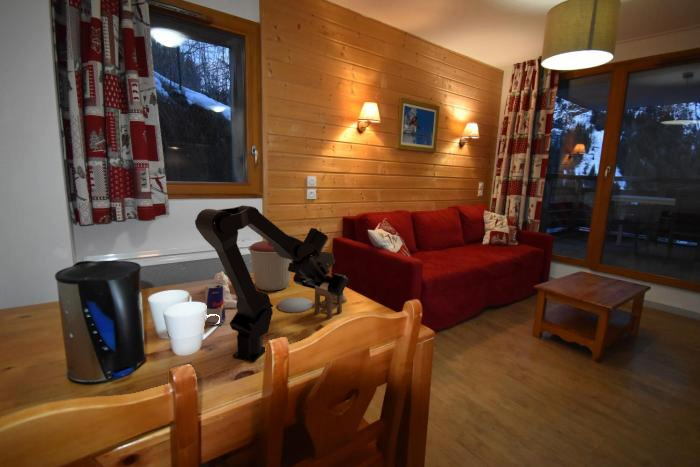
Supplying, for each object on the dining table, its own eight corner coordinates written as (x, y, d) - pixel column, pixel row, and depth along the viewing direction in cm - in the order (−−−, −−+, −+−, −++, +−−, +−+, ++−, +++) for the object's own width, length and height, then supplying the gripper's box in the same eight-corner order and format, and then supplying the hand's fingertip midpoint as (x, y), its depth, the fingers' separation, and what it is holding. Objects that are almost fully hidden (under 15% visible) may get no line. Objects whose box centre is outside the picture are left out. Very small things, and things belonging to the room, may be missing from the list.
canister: (245, 282, 139) (243, 232, 135) (287, 277, 147) (287, 230, 143) (255, 297, 123) (253, 241, 119) (301, 290, 132) (301, 238, 128)
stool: (329, 319, 107) (330, 290, 106) (314, 313, 111) (314, 286, 109) (341, 312, 113) (342, 285, 111) (327, 307, 116) (327, 281, 114)
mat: (304, 314, 110) (303, 313, 110) (271, 309, 113) (271, 308, 113) (318, 301, 121) (318, 300, 121) (288, 297, 125) (288, 295, 125)
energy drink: (219, 327, 100) (217, 288, 98) (203, 324, 101) (200, 287, 99) (229, 319, 106) (227, 282, 103) (213, 317, 107) (211, 281, 104)
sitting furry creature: (240, 308, 114) (238, 274, 112) (212, 312, 110) (211, 277, 108) (235, 298, 123) (234, 266, 120) (210, 302, 119) (208, 269, 116)
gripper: (345, 250, 99) (364, 277, 110) (299, 241, 109) (320, 266, 120) (328, 283, 94) (350, 307, 105) (281, 270, 105) (305, 293, 116)
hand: (331, 292), depth 112 cm, fingers open, 9 cm apart
